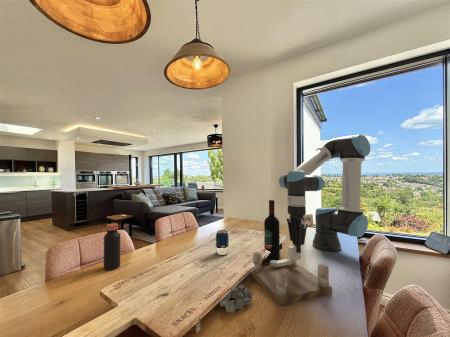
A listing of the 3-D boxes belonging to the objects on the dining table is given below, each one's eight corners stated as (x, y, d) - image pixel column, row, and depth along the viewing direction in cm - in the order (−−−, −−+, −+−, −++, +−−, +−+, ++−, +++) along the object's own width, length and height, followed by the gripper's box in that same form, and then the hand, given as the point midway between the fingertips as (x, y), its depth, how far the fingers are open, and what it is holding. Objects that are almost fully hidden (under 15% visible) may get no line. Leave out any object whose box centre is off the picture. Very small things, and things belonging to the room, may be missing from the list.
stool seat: (294, 266, 96) (294, 246, 96) (333, 293, 75) (333, 267, 75) (250, 273, 89) (250, 252, 89) (279, 306, 68) (279, 277, 68)
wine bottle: (280, 263, 100) (279, 201, 100) (264, 261, 101) (264, 201, 102) (279, 256, 107) (278, 199, 108) (264, 255, 109) (264, 199, 109)
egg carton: (228, 316, 63) (228, 302, 63) (217, 302, 70) (216, 290, 70) (255, 304, 69) (255, 292, 69) (242, 293, 75) (242, 282, 75)
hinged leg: (272, 268, 87) (272, 252, 88) (268, 265, 91) (268, 249, 91) (298, 263, 92) (298, 248, 92) (293, 260, 95) (292, 245, 96)
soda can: (215, 251, 115) (215, 229, 115) (227, 250, 115) (227, 229, 116) (216, 256, 108) (216, 233, 108) (229, 255, 108) (229, 233, 109)
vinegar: (100, 270, 92) (100, 226, 93) (109, 264, 99) (109, 222, 100) (115, 270, 92) (115, 226, 93) (123, 264, 99) (123, 222, 99)
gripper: (281, 203, 96) (282, 254, 95) (297, 207, 83) (298, 266, 83) (295, 203, 98) (296, 253, 97) (313, 207, 85) (314, 264, 84)
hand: (297, 259), depth 90 cm, fingers closed
